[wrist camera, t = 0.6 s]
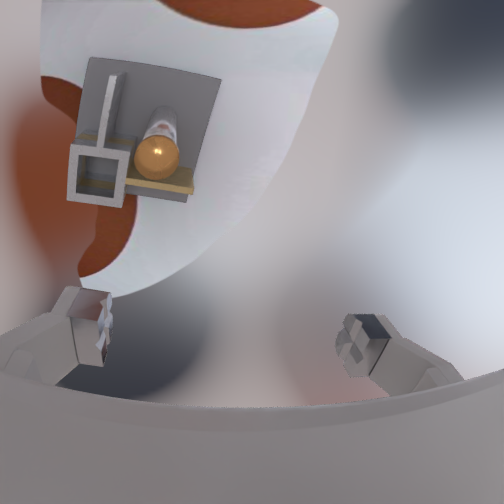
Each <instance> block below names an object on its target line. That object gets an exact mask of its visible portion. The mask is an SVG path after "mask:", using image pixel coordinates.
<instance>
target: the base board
mask: <svg viewBox="0 0 504 504" xmlns="http://www.w3.org/2000/svg"><path fill="white" fill-rule="evenodd" d="M119 71H124V72H127V73H126V77H125V81H124V85H123V89H122V94H121V98H120V103H119V108H118V113H117V118H116V123H115V128H114V133H121V134H127V135H134V136H137V138H136V143H135V148H134V154H133V159H134V156H135V152H136V149H137V147H138V145H139V144H140V142H141V141H142V140H143V138H144V135H145V132H146V129H147V127H148V124H149V121H150V118H151V116H152V113H153V112H154V111H155V110H156V109H157V108H159V107H162V106H167V107H170V108H172V109H173V110H174V111H175V113H176V116H177V124H176V145H177V147H178V149H179V164H178V166H181V167H187V168H191V169H192V177H193V174H194V170H195V167H196V163H197V159H198V156H199V152H200V149H201V145H202V142H203V138H204V135H205V132H206V128H207V125H208V122H209V118H210V115H211V112H212V109H213V105H214V102H215V99H216V96H217V93H218V90H219V87H220V84H221V81H222V80H221V79H217V78H213V77H209V76H205V75H200V74H196V73H191V72H187V71H182V70H177V69H172V68H166V67H161V66H155V65H149V64H143V63H136V62H129V61H121V60H113V59H104V58H93V57H90V58H89V62H88V66H87V71H86V76H85V80H84V85H83V90H82V96H81V102H80V107H79V114H78V120H77V128H76V135H75V139H76V138H77V137H78V136H79V135H80V134H81V133H82V132H83V131H84V130H85V129H90V130H98V131H99V127H100V121H101V115H102V110H103V105H104V100H105V95H106V90H107V85H108V81H109V77H110V75H112V74H114V73H117V72H119ZM118 163H119V160H116V159H109V158H102V157H94V156H90V159H89V168H88V172H93V173H100V174H107V175H114V176H117V169H118ZM126 193H127V194H133V195H140V196H147V197H153V198H160V199H166V200H172V201H178V202H184V203H186V201H187V197H188V194H184V193H178V192H172V191H166V190H160V189H154V188H147V187H141V186H134V185H128V187H127V191H126Z"/></svg>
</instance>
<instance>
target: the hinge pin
mask: <svg viewBox="0 0 504 504" xmlns="http://www.w3.org/2000/svg"><path fill="white" fill-rule="evenodd" d="M176 124H177V116H176V113H175V111H174V110H173V109H172V108H170V107H167V106H162V107H159V108H157V109H156V110H155V111H154V112H153V113H152V116H151V118H150V121H149V124H148V127H147V129H146V132H145V135H144V138H143V140H142V141H141V142H140V144H139V145H138V147H137V149H136V152H135V156H134V162H135V166H136V168H137V170H138V171H139V173H140V174H142V175H143V176H144V177H146V178H149V179H153V180H159V179H164V178H166V177H168V176H170V175H171V174H172V173H173V172H174V171H175V170H176V168H177V166H178V164H179V149H178V147H177V145H176Z"/></svg>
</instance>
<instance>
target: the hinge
mask: <svg viewBox="0 0 504 504" xmlns="http://www.w3.org/2000/svg"><path fill="white" fill-rule="evenodd" d="M126 73H127V72H124V71H119V72H117V73H114V74H112V75H110V77H109V81H108V85H107V90H106V95H105V100H104V105H103V110H102V115H101V121H100V127H99V131H98V130H90V129H85V130H84V131H83V132H82V133H81V134H80V135H79V136H78V137H77V138H76V139H75V140H74V141H73V142H72V143H71V146H70V156H69V168H68V184H67V200H68V201H76V202H84V203H91V204H97V205H105V206H112V207H119V208H122V205H123V201H124V198H125V194H126V191H127V187H128V185H134V186H141V187H147V188H154V189H160V190H166V191H172V192H178V193H184V194H190V195H193V191H194V185H193V177H192V169H191V168H187V167H181V166H177V168H176V170H175V171H174V172H173V173H172V174H171V175H170V176H168V177H166V178H164V179H159V180H153V179H149V178H146V177H144V176H143V175H142V174H140V173H139V171H138V170H137V168H136V166H135V162H134V159H133V154H134V148H135V143H136V138H137V136H134V135H127V134H121V133H114V128H115V123H116V118H117V113H118V108H119V103H120V98H121V94H122V89H123V85H124V81H125V77H126ZM90 156H94V157H102V158H109V159H116V160H119V163H118V169H117V176H114V175H107V174H100V173H93V172H88V168H89V159H90Z"/></svg>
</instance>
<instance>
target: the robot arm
mask: <svg viewBox="0 0 504 504" xmlns="http://www.w3.org/2000/svg"><path fill="white" fill-rule="evenodd" d="M111 306H112V295H111V293H110V292H104V291H98V290H92V289H87V288H80V287H74V286H67V287H66V288H65V289H64V291H63V293H62V294H61V296H60V298H59V299H58V301H57V303H56V304H55V306H54V307H53V309H52V311H51V313H44V314H42V315H40V316H38V317H36V318H34V319H32V320H30V321H28V322H27V323H24V324H22V325H20V326H19V327H16V328H14V329H12V330H10V331H8V332H7V333H5V334H3V335H1V336H0V504H504V369H501V370H499V371H495V372H492V373H489V374H486V375H482V376H479V377H475V378H472V379H468V380H464V379H463V377H462V376H461V375H460V374H459V372H458V371H457V370H456V369H455V368H454V366H453V365H452V364H451V363H449V362H447V361H446V360H444V359H442V358H440V357H438V356H437V355H435V354H433V353H431V352H430V351H428V350H426V349H424V348H423V347H421V346H419V345H417V344H416V343H414V342H412V341H410V340H409V339H407V338H403V337H402V336H401V335H400V333H399V332H398V331H397V330H396V329H395V327H394V326H393V325H392V323H391V322H390V321H389V320H388V318H387V317H386V316H385V315H383V314H348V315H347V316H346V317H345V319H344V321H343V325H344V328H343V329H342V330H341V331H340V332H339V333H338V335H337V338H336V343H335V348H336V352H337V354H338V356H339V357H340V358H341V359H343V360H344V364H343V366H344V367H345V369H346V371H347V373H348V375H349V377H366V376H369V378H370V379H371V380H372V381H374V382H375V383H376V384H377V385H378V386H380V387H381V388H382V389H383V390H384V391H385V392H387V393H388V394H389V395H390V397H383V398H377V399H370V400H362V401H354V402H346V403H335V404H324V405H311V406H295V407H269V408H225V407H200V406H183V405H172V404H160V403H151V402H142V401H135V400H127V399H120V398H114V397H107V396H101V395H95V394H90V393H85V392H80V391H75V390H70V389H66V388H61V387H57V386H54V385H55V384H56V383H57V382H58V381H60V380H61V379H62V378H63V377H64V376H65V375H67V374H68V373H69V372H70V371H71V370H72V369H74V368H75V367H76V366H77V365H78V363H81V364H87V365H94V366H101V367H103V366H104V362H105V358H106V355H107V344H109V343H110V341H111V337H112V330H113V316H112V314H111V313H110V309H111Z"/></svg>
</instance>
